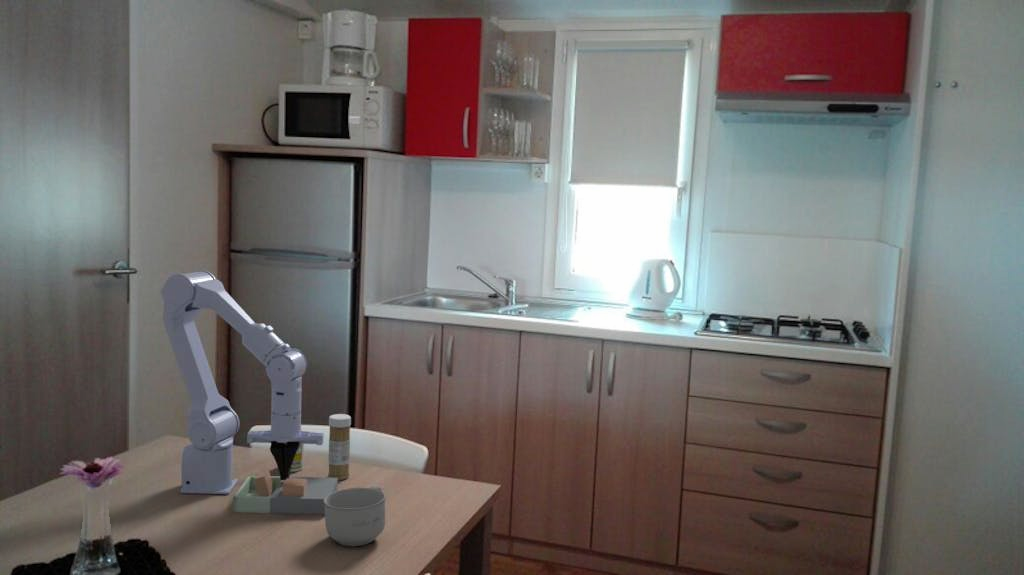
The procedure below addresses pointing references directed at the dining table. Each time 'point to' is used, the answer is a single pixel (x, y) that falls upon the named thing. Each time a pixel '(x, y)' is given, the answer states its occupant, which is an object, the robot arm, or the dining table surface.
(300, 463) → the supplement bottle
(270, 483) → the tile
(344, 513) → the teacup
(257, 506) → the tray
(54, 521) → the dining table surface
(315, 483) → the slate board
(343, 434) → the sprinkles bottle
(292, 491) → the tile
